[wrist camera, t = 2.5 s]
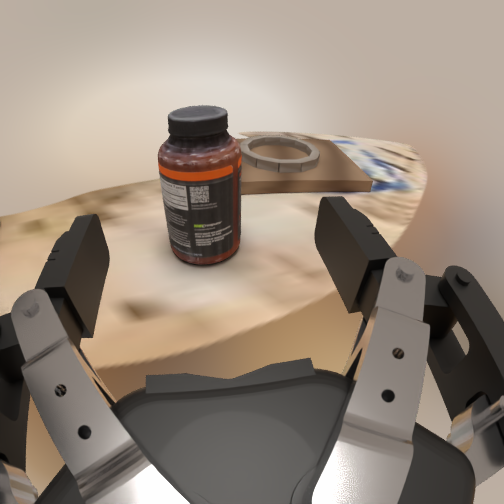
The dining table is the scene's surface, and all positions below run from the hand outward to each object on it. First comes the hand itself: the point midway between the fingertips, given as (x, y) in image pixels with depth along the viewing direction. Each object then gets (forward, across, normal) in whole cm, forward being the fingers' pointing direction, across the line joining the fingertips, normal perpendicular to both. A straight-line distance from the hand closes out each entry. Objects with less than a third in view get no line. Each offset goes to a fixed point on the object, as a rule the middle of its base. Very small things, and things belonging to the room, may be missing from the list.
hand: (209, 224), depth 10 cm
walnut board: (+26, -10, +10) cm, 30 cm away
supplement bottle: (+12, 0, +10) cm, 15 cm away
